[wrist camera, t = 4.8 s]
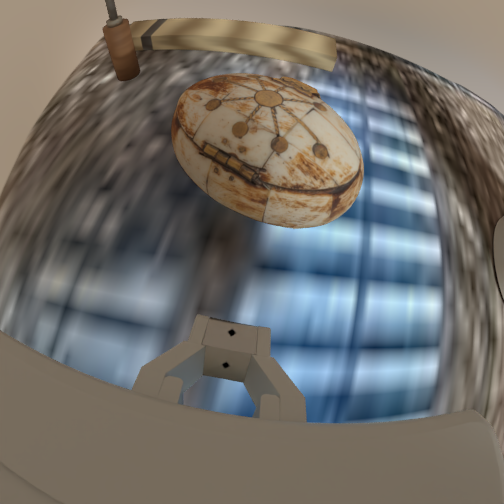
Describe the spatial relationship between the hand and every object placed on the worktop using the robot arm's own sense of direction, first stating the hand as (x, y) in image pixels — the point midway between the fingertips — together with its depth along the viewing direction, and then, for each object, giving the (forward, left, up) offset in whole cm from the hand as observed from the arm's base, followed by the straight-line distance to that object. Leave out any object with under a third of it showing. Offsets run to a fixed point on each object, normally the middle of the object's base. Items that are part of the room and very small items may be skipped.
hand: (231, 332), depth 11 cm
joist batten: (+9, -35, -9) cm, 37 cm away
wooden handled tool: (+19, -26, -9) cm, 33 cm away
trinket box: (0, -14, -9) cm, 17 cm away
